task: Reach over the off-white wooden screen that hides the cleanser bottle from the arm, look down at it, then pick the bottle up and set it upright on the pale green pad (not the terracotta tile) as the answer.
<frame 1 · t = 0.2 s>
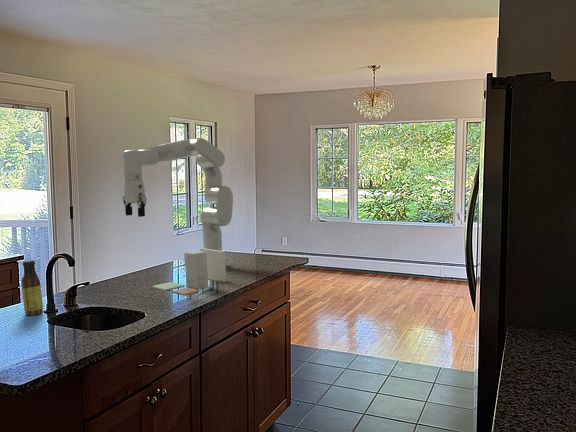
hand: (135, 215, 238), 31 cm above the worktop, tool pointing down, fingers open, 9 cm apart
screen: (213, 279, 246), on the worktop
green pad: (168, 286, 234), on the worktop
terracotta tile: (185, 292, 223), on the worktop
skincare box: (196, 287, 233), on the worktop
sauce bottle: (33, 314, 196), on the worktop
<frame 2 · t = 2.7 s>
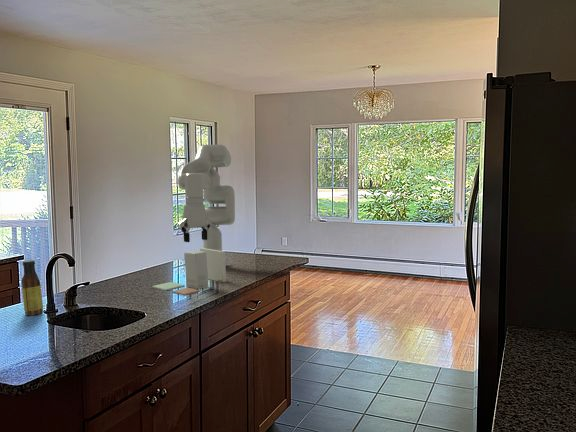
hand: (195, 240, 231), 20 cm above the worktop, tool pointing down, fingers open, 9 cm apart
nothing on the worktop moved.
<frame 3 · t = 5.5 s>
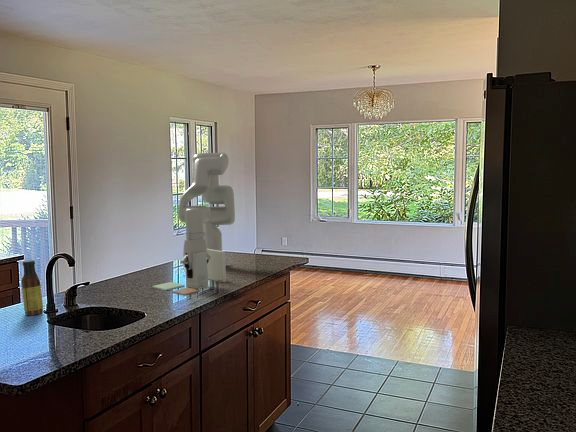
hand: (196, 276, 232), 5 cm above the worktop, tool pointing down, fingers closed on skincare box, 6 cm apart
skincare box: (196, 287, 233), on the worktop, touching gripper
everything else where it was.
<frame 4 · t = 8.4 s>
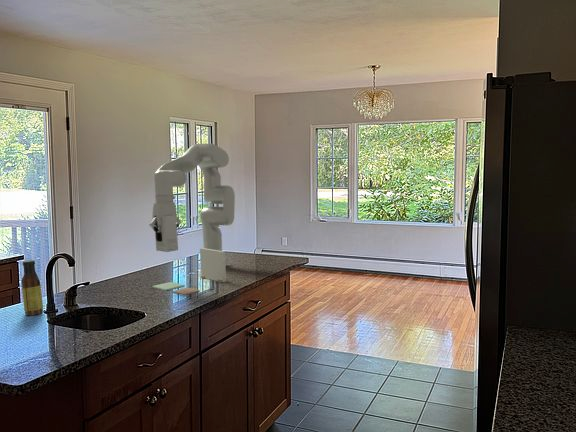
hand: (166, 239, 231), 21 cm above the worktop, tool pointing down, fingers closed on skincare box, 6 cm apart
skincare box: (166, 251, 232), point 16 cm above the worktop, touching gripper
everything else where it was.
when the fingers open (6 cm above the worktop, at t = 11.4 s): skincare box stays where it is, resting on green pad.
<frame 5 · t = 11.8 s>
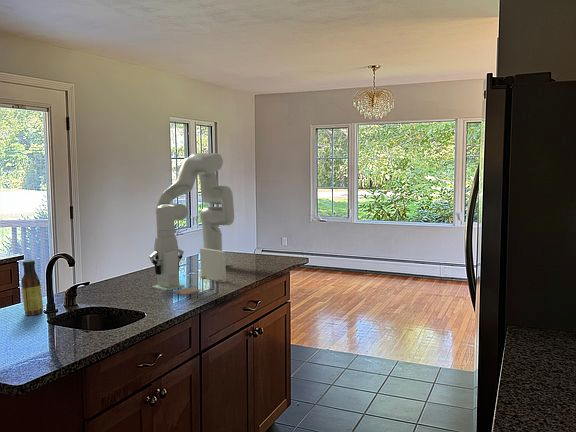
hand: (167, 272, 233), 6 cm above the worktop, tool pointing down, fingers open, 9 cm apart
skincare box: (168, 285, 234), resting on green pad
everything else where it was.
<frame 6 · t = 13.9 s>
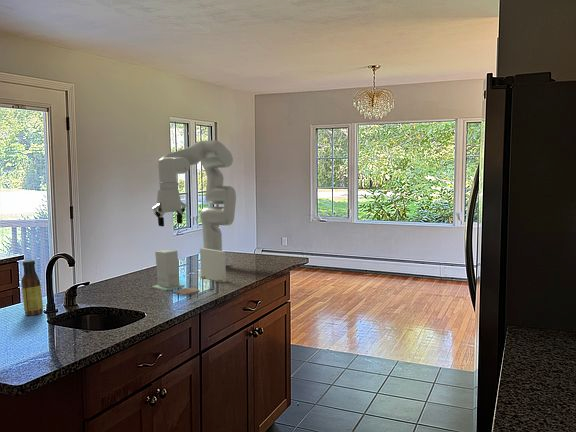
hand: (170, 224, 235), 27 cm above the worktop, tool pointing down, fingers open, 9 cm apart
nothing on the worktop moved.
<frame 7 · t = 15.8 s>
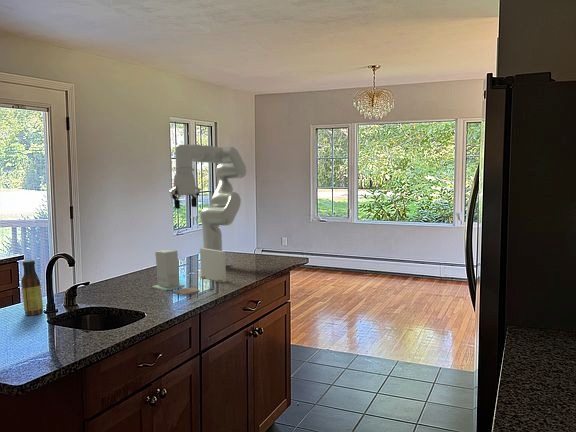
hand: (185, 207, 249), 33 cm above the worktop, tool pointing down, fingers open, 9 cm apart
nothing on the worktop moved.
at the end: skincare box inside the target area on the green pad (0.0 cm from its centre), point 0.4 cm above the green pad's base; skincare box tilted 0°; the gripper is holding nothing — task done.
